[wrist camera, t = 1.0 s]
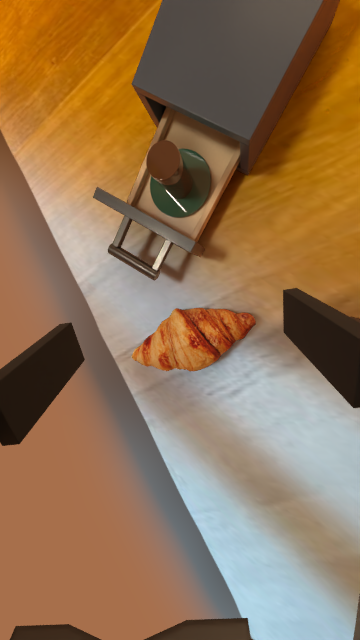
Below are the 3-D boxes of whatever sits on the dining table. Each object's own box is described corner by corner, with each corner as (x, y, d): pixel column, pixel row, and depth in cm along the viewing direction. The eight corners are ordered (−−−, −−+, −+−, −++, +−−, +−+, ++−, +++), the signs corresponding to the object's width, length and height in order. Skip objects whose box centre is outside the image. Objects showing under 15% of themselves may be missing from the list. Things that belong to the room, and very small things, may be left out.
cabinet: (248, 175, 33) (249, 140, 24) (158, 131, 35) (131, 84, 26) (332, 22, 28) (371, -91, 19) (222, -21, 30) (213, -140, 21)
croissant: (151, 362, 46) (143, 397, 39) (120, 325, 41) (106, 358, 34) (259, 326, 39) (270, 362, 33) (238, 276, 34) (247, 307, 27)
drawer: (182, 290, 37) (168, 294, 30) (106, 245, 39) (77, 239, 32) (271, 127, 30) (279, 83, 23) (173, 82, 32) (155, 29, 25)
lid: (223, 167, 32) (217, 134, 24) (191, 229, 34) (177, 216, 27) (168, 139, 33) (147, 100, 25) (141, 201, 35) (115, 182, 28)
